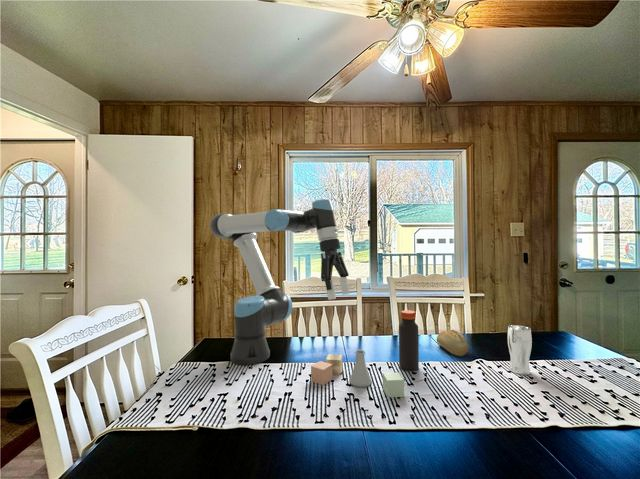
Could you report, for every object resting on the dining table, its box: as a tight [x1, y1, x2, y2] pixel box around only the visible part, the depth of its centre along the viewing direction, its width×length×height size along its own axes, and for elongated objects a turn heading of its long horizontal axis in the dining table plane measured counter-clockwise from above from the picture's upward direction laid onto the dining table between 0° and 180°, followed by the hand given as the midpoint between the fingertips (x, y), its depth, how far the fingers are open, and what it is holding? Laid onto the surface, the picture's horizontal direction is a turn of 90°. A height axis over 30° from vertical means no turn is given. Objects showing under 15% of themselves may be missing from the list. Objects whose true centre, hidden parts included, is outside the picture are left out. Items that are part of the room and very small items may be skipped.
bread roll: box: [436, 329, 469, 357], centre depth 123 cm, size 10×15×8 cm, turn 13°
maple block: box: [325, 353, 343, 376], centre depth 106 cm, size 5×5×5 cm
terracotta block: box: [310, 360, 333, 386], centre depth 99 cm, size 5×5×5 cm
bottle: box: [398, 309, 420, 372], centre depth 108 cm, size 7×7×20 cm
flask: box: [349, 349, 373, 388], centre depth 97 cm, size 7×7×10 cm
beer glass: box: [507, 324, 533, 376], centre depth 104 cm, size 7×7×15 cm
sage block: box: [382, 371, 405, 398], centre depth 90 cm, size 5×5×5 cm
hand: (339, 296), depth 110 cm, fingers open, 13 cm apart
